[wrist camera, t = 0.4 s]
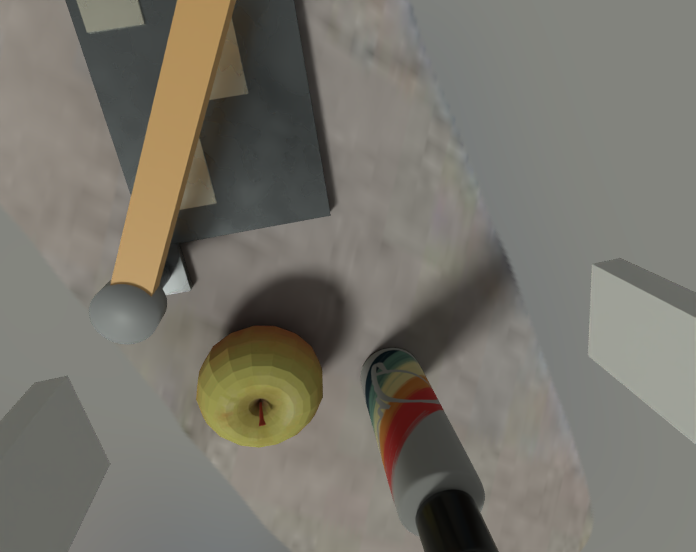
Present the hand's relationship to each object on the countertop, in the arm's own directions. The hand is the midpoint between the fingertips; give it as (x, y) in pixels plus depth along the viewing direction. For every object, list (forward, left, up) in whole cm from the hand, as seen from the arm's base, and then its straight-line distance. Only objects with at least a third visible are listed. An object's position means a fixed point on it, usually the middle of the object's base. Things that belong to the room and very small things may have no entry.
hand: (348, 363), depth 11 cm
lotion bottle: (+18, +5, -26) cm, 32 cm away
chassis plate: (-8, -5, -25) cm, 27 cm away
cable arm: (-4, -8, -19) cm, 21 cm away
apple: (+14, -6, -26) cm, 30 cm away
